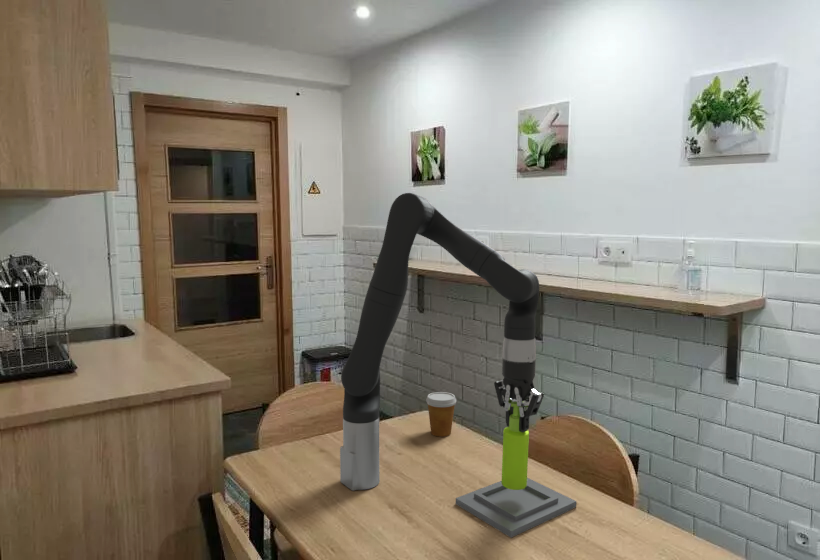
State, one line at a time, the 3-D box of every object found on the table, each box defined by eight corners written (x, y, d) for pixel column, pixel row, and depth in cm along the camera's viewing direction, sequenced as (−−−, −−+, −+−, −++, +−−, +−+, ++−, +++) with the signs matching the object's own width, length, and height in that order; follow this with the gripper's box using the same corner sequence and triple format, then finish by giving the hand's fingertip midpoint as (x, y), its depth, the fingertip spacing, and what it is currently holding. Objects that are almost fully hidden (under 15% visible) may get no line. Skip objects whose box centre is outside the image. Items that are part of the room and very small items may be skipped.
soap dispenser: (531, 491, 135) (535, 408, 132) (500, 488, 136) (504, 405, 133) (531, 480, 140) (534, 399, 138) (502, 477, 142) (505, 397, 139)
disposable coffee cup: (460, 430, 187) (460, 393, 185) (449, 440, 178) (450, 402, 177) (432, 425, 191) (433, 390, 189) (421, 435, 182) (421, 398, 181)
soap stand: (510, 537, 125) (511, 526, 125) (455, 504, 139) (455, 494, 139) (576, 507, 138) (576, 497, 138) (519, 479, 152) (519, 470, 152)
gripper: (485, 352, 138) (484, 423, 140) (531, 365, 127) (529, 442, 129) (508, 348, 142) (506, 417, 144) (553, 360, 131) (551, 434, 133)
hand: (517, 428), depth 137 cm, fingers closed on soap dispenser, 3 cm apart
